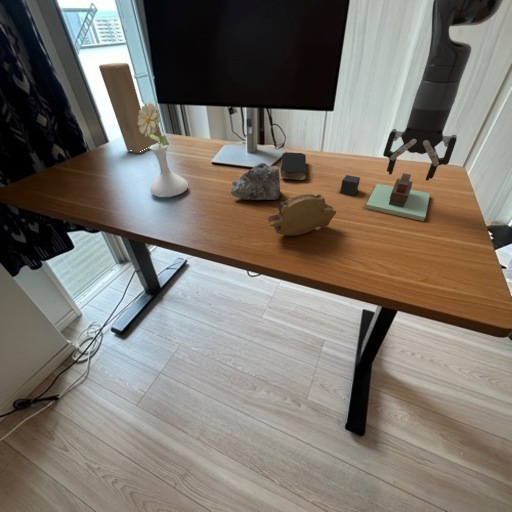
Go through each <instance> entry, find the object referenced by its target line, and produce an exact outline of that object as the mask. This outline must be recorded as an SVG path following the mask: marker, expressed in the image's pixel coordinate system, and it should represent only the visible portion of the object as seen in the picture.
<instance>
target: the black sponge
mask: <svg viewBox="0 0 512 512" xmlns="http://www.w3.org/2000/svg"><path fill="white" fill-rule="evenodd" d="M279 174H280V178H282V179H287V180H298V181H304V180H305V179H307V155H306V154H305V153H302V152H283V153H282V155H281V163H280V170H279Z"/></svg>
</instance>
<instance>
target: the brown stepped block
mask: <svg viewBox="0 0 512 512" xmlns="http://www.w3.org/2000/svg"><path fill="white" fill-rule="evenodd" d="M411 176H412V174H409V173H405V172H404V173H402V174H401V177H400V178H396V180H395V182H394V185H393V186H394V188H393V190H392V192H391V195H390V201H389V205H394V206H399V207H404V204H405V202H406V201H407V199H408V196H409V193H410V190H412V185H413V182H414V181H411V180H410V179H411Z"/></svg>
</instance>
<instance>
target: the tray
mask: <svg viewBox="0 0 512 512" xmlns="http://www.w3.org/2000/svg"><path fill="white" fill-rule="evenodd" d="M393 188H394V185H388V184H382V183H377V184H376V185H375V187H374V189H373V190H372V192H371V194H370V196H369V199H368V200H367V202H366V204H365V208H364V209H366V210H371V211H375V212H381V213H385V214H388V215H389V214H390V215H393V216H398V217H403V218H405V219H406V218H407V219H411V220H416V221H420V222H424V221H425V219H426V216H427V212H428V206H429V202H430V196H431V193H430V192H427V191H421V190H415V189H411V190H410V193H409V196H408V199H407V201H406V202H405V204H404V207H399V206H394V205H389V201H390V195H391V192H392V190H393Z"/></svg>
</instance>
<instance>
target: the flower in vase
mask: <svg viewBox="0 0 512 512" xmlns="http://www.w3.org/2000/svg"><path fill="white" fill-rule="evenodd" d="M160 117H161V115H160V109H159V108H158V107H157V106H156V105H155V104H154V103H152V102H151V101H150V102H149V103H147V102H144V104H143V105H142V106H141V110H139V116H138V119H139V120H138V121H139V122H138V126H140V128H139V129H140V132H141V134H144V133H145V137H147V136H150V137H151V138H152V139H154V140H156V141H158V142H160V144H154V145H152V146H150V147H149V148H150V149H149V150H150V151H152V152H153V153H154V155H155V157H156V159H157V161H158V165H159V169H160V171H159V172H160V173H159V175H158V176H157V177H156V178H155V179H154V180H153V181H152V183H151V184H150V188H149V192H150V193H151V194H152V195H153V196H155V197H158V198H172V197H175V196H179V195H181V194H183V193H185V192H186V191H187V189H188V187H189V183H188V181H187V180H186V178H183V177H182V176H180V175H178V174H177V173H174V172H172V171H171V170H170V167H169V165H168V160H167V149H168V148H169V145H170V143H169V141H168V139H167V136H166V135H165V134H164V135H162V132H161V129H160V130H159V129H158V126H159V127H160V125H159V123H160V122H161V118H160ZM157 129H158V131H159V133H160V139H159V138H158V137H157V136H155V135H153V134H154V133H155V132H156V130H157ZM161 142H162V143H161Z"/></svg>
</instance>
